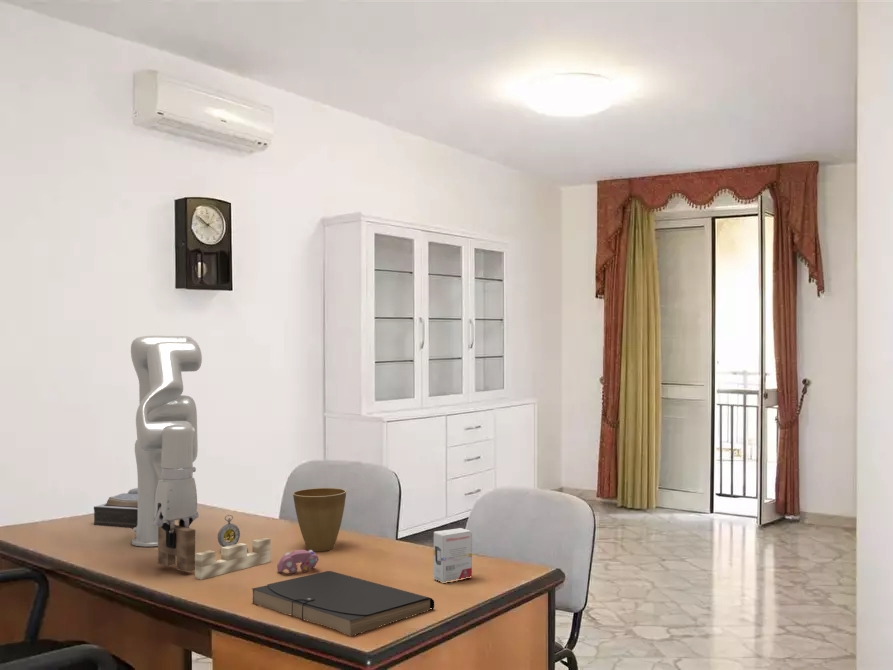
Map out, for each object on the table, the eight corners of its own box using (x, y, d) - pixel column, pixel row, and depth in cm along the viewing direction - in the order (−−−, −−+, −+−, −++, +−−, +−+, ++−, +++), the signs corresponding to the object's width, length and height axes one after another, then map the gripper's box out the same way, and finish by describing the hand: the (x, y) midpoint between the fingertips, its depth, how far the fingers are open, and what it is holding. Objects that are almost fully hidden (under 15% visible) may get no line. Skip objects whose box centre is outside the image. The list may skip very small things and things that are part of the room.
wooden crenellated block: (201, 579, 207) (201, 554, 207) (195, 578, 208) (195, 553, 208) (270, 561, 224) (270, 538, 224) (264, 560, 226) (264, 537, 226)
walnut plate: (157, 563, 217) (158, 524, 217) (166, 561, 219) (166, 522, 219) (186, 571, 210) (187, 531, 210) (194, 569, 212) (195, 529, 212)
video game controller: (279, 581, 211) (283, 558, 208) (275, 569, 215) (278, 546, 212) (317, 576, 216) (322, 554, 213) (312, 564, 219) (316, 542, 217)
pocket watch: (241, 556, 230) (241, 519, 230) (212, 555, 231) (213, 518, 232) (254, 549, 238) (254, 513, 238) (226, 548, 239) (226, 512, 240)
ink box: (461, 574, 211) (461, 527, 212) (473, 579, 207) (473, 530, 207) (432, 579, 207) (432, 531, 207) (443, 584, 202) (443, 534, 203)
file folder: (250, 587, 187) (334, 568, 205) (250, 605, 187) (334, 585, 205) (349, 618, 165) (434, 594, 183) (349, 640, 165) (434, 613, 183)
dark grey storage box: (199, 517, 286) (199, 488, 286) (133, 532, 262) (133, 500, 262) (151, 511, 297) (151, 482, 297) (84, 524, 274) (84, 493, 274)
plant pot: (340, 540, 249) (340, 486, 249) (350, 552, 235) (350, 494, 235) (289, 544, 244) (289, 488, 244) (296, 556, 230) (296, 497, 230)
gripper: (194, 468, 223) (193, 538, 224) (140, 476, 211) (139, 550, 211) (212, 471, 219) (211, 542, 219) (158, 479, 206) (157, 555, 206)
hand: (176, 545), depth 215 cm, fingers closed on walnut plate, 2 cm apart
